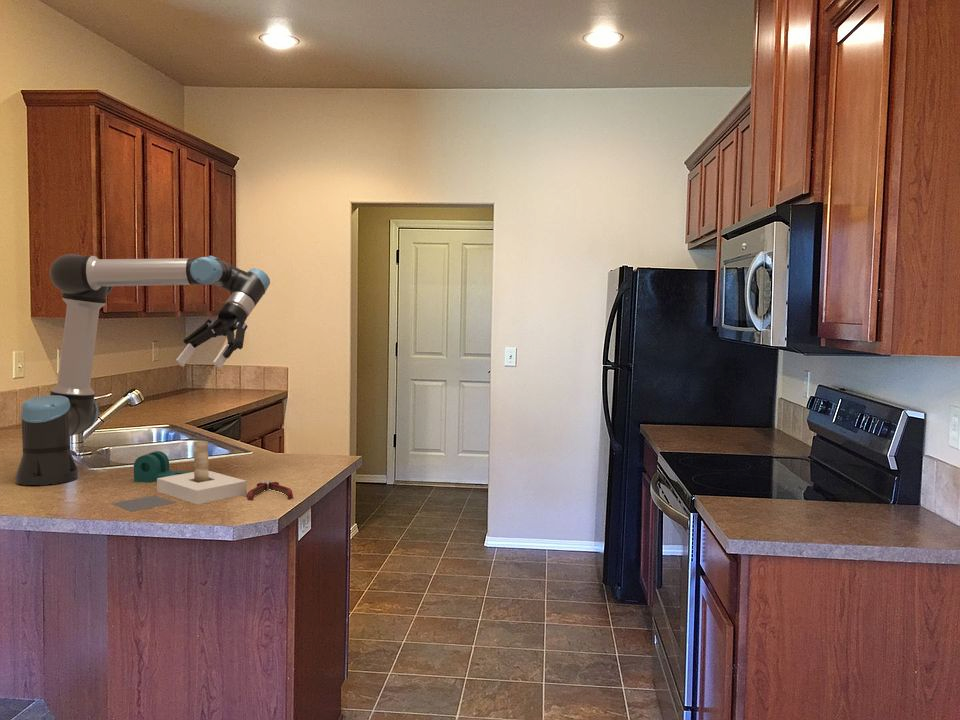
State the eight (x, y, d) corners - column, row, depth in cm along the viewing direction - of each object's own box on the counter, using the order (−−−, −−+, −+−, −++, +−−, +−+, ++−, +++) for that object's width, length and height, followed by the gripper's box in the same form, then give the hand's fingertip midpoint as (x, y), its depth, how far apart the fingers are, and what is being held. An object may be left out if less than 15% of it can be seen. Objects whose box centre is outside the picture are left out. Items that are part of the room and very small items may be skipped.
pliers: (287, 483, 203) (287, 474, 203) (293, 501, 185) (293, 491, 184) (245, 486, 200) (245, 477, 199) (247, 504, 181) (247, 494, 181)
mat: (110, 505, 176) (110, 503, 176) (154, 497, 185) (154, 495, 185) (132, 513, 169) (131, 511, 169) (176, 504, 178) (176, 502, 178)
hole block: (157, 493, 189) (157, 478, 189) (205, 483, 200) (205, 469, 199) (197, 506, 176) (197, 490, 176) (246, 495, 187) (246, 480, 187)
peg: (192, 494, 188) (191, 442, 187) (204, 492, 191) (203, 440, 190) (199, 496, 186) (198, 443, 185) (211, 494, 188) (210, 441, 188)
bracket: (134, 482, 201) (133, 455, 201) (147, 477, 208) (147, 450, 207) (194, 484, 199) (194, 457, 199) (206, 479, 206) (206, 452, 206)
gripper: (275, 320, 208) (239, 375, 195) (210, 319, 218) (172, 371, 205) (263, 301, 203) (225, 356, 190) (197, 301, 213) (157, 353, 200)
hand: (197, 364), depth 198 cm, fingers open, 13 cm apart
